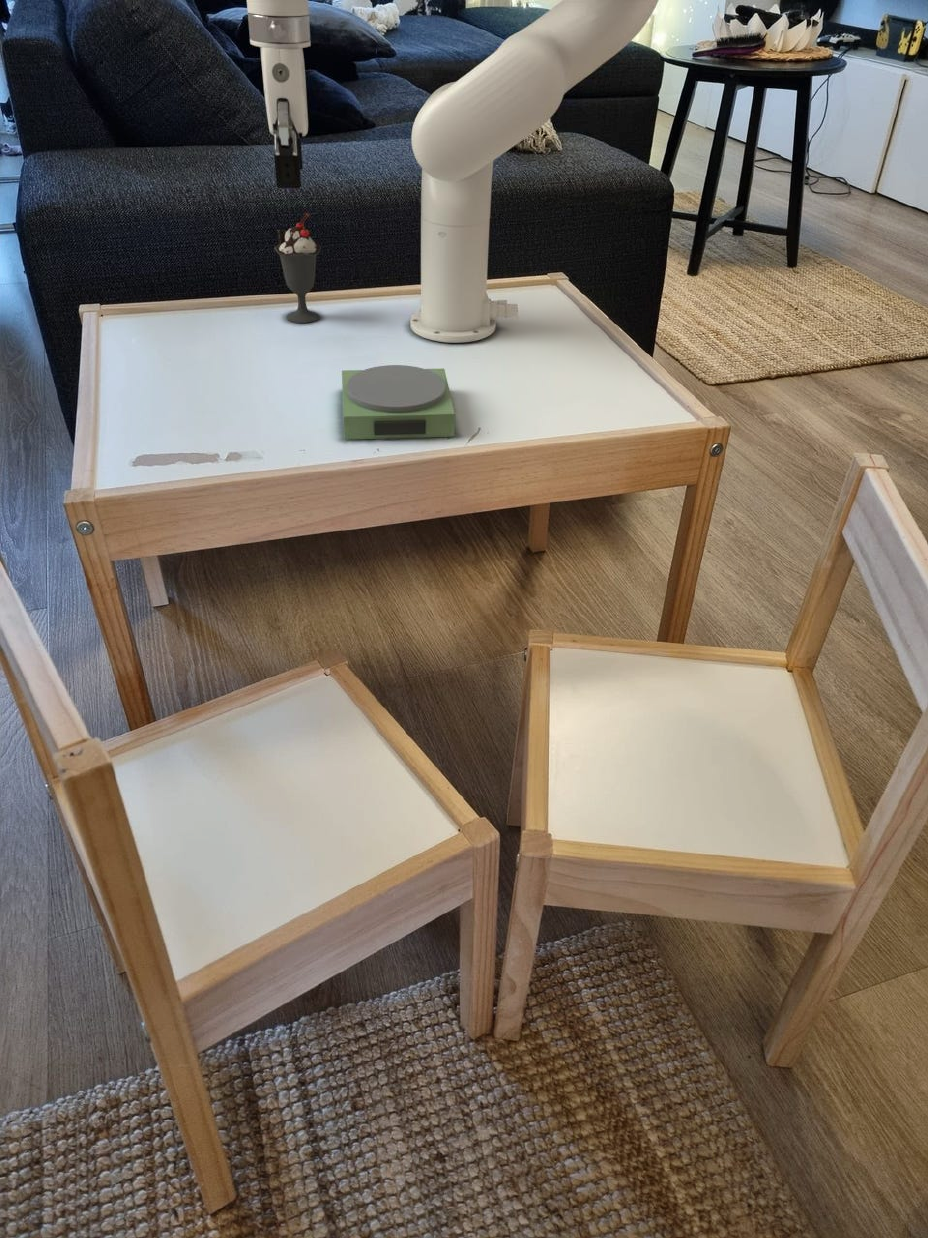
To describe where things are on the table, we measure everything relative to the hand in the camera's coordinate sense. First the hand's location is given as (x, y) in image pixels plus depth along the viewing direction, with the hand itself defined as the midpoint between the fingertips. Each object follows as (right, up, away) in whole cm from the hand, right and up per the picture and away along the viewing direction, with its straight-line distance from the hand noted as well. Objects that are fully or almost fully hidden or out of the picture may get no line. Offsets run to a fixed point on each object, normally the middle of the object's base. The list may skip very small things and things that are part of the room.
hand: (290, 178), depth 126 cm
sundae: (0, -15, +12) cm, 20 cm away
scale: (+15, -35, -12) cm, 40 cm away
